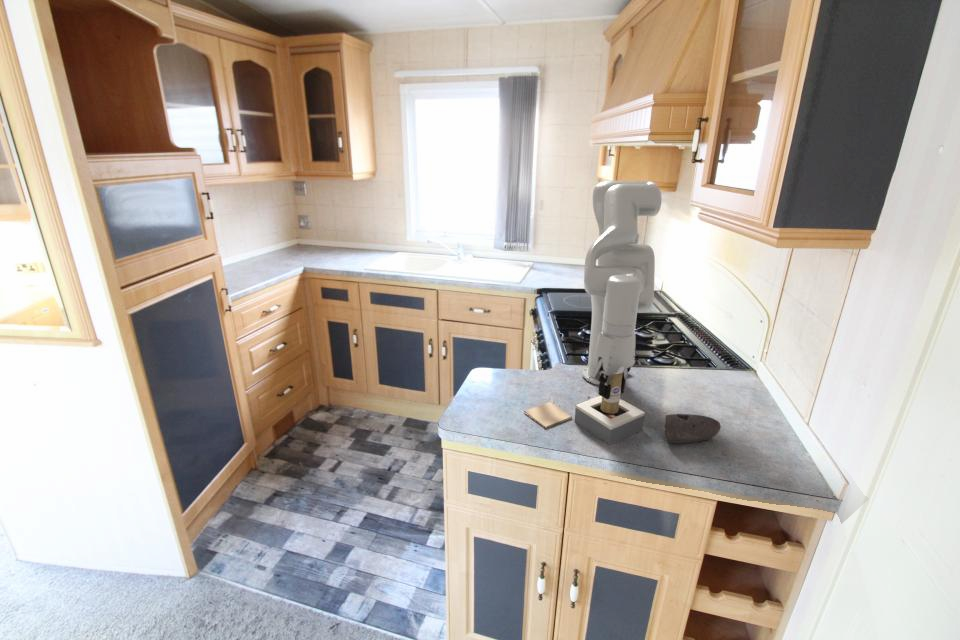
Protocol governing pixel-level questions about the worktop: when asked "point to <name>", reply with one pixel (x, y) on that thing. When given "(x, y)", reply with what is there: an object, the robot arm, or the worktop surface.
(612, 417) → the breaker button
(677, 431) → the perforated stone tool
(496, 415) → the worktop surface
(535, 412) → the coaster
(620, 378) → the sprinkles bottle
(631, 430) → the grey square open box
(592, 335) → the robot arm
